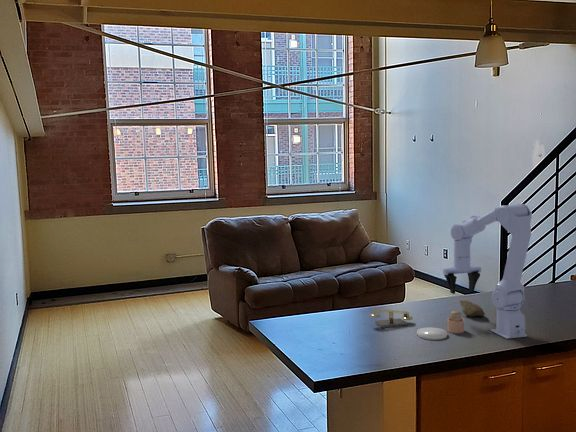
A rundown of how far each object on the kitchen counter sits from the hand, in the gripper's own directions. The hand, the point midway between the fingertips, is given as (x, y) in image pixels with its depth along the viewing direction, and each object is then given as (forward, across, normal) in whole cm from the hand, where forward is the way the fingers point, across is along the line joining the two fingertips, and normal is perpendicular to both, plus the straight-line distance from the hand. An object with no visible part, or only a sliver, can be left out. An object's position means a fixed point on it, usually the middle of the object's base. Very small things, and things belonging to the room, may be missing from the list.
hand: (462, 292), depth 218 cm
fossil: (+10, -5, -2) cm, 11 cm away
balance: (+10, +28, 0) cm, 30 cm away
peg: (+10, +10, +13) cm, 19 cm away
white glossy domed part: (+10, +20, +16) cm, 27 cm away
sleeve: (+10, +10, +13) cm, 19 cm away
